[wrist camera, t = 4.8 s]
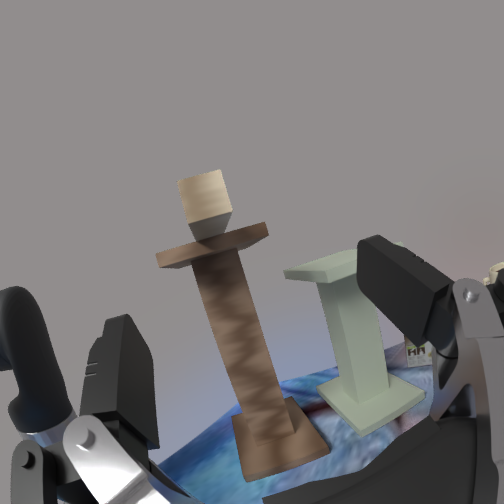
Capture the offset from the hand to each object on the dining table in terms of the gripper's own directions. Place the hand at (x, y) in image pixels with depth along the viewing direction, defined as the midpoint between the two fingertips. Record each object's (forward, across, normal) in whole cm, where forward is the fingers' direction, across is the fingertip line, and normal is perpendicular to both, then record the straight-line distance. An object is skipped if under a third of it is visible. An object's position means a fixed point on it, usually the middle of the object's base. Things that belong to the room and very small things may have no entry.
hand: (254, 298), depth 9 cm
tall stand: (+11, 0, -38) cm, 40 cm away
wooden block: (+22, 0, -8) cm, 23 cm away
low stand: (+11, +17, -38) cm, 43 cm away
